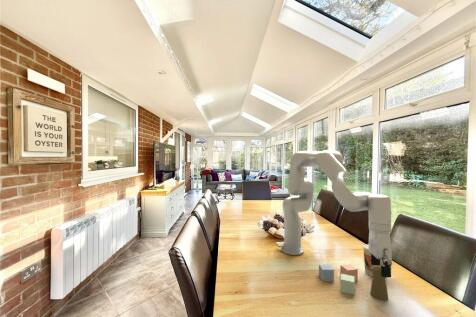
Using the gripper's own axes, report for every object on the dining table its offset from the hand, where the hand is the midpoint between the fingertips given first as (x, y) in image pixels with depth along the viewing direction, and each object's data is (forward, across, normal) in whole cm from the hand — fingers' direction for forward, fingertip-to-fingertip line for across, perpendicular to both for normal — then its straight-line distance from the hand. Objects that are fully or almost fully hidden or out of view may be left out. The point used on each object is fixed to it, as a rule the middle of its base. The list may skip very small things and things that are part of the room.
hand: (380, 270), depth 88 cm
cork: (+10, -1, 0) cm, 10 cm away
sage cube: (+10, -3, -12) cm, 16 cm away
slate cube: (+10, -11, -18) cm, 24 cm away
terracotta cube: (+10, -13, -8) cm, 18 cm away
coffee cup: (+10, -20, +4) cm, 23 cm away
